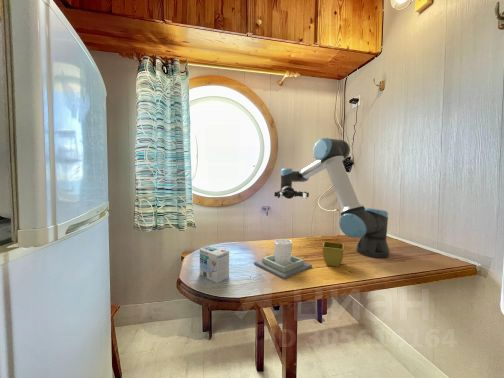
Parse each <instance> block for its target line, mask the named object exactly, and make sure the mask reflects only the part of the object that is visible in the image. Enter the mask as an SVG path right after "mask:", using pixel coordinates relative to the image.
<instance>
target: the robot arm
mask: <svg viewBox="0 0 504 378" xmlns="http://www.w3.org/2000/svg"><path fill="white" fill-rule="evenodd" d="M312 150H313V151H312V152H313V153H312V154H313V157H314V158H315V159H316V160H314V161H313V162H311V163H310V164H308V165H307V166H305V167H304V168H302V169H301V170H298V171H296V170H293V168H290V167H289V168H281V170H280V188H279V191H274V197H277V199H283V197H284V198H285V199H287V200H288V199H292V198H293V197H301V198H303V199H307V198H309V196H310V195H309V194H310V193H309V192H307V191H300V190H299V191H297V190H295V189H294V187H293V183H304V182H308V181H309V179H310V178H311V177H313V176H315V175H316V174H319V172H321V171H323V170H326V172H327V173H328V176H329V179H330V182H331V184H332V187H333V190H334V192H335V195H336V197H337V200H338V203H339V204H340V207H341V209H340V210H341V211H339V214H340V217H339V221H338V222H339V223H338V224H339V228H340V230H341V232H342V233H343V234H344V235H345V236H347V237H349V238H353V239H354V238H357V239H358V238H359V240H358V242H357V244H356V252H357V253H359V254H361V255H363V256H367V257H371V258H378V259H384V258H388V257H390V247H389V244H388V241H387V235H388V220H389V215H388V214H389V213H388V212H387V210H383V209H378V208H377V209H376V208H370V207H365V205H362V204H360V202H359V200H358V197H357V194H356V192H355V190H354V187H353V184H352V183H351V180H350V178H349V175H348V173H347V170H346V168H345V164H344V163H343V161H345V160H346V159H347V158H348V157H349V156H350V152H351V148H350V145H349V144H348V142H346V140H342V139H336V138H335V139H334V138H329V137H327V138H326V137H325V138H324V137H323V138H320V139H318V140H317V141H316V142H315V143H314V147H313V149H312Z"/></svg>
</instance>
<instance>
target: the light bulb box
mask: <svg viewBox="0 0 504 378" xmlns="http://www.w3.org/2000/svg"><path fill="white" fill-rule="evenodd" d="M199 275H200V276H202V277H204V278H205V279H207V280H210V281H211V282H213V283H215V284H218V283H221V282H222V281H224V280H227V279H228V278H230V250H227V249H224V248H221V247H218V246H215V245H208V246H205V247H202V248H200V249H199Z"/></svg>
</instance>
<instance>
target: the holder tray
mask: <svg viewBox="0 0 504 378" xmlns="http://www.w3.org/2000/svg"><path fill="white" fill-rule="evenodd" d="M253 264H254V265H256V266H257V267H259V268H261V269H263V270H265V271H267V272H269V273H271V274H272V275H275V276H277V277H279V278H281V279H283V280H286V279H287V278H290V277H292V276H295V275H297V274H299V273H302V272H304V271H306V270H309V269H311V268H312V267H313V265H312V264H311V263H309V262H306V261H305V260H304V259H302V258H300V257H298V256H295V255H292V254H291V260H290V264H288V265H286V266H282V265H280V264H277V263H275V253H274V254H271V255H267V256H264V257H262V258H261V259H260V260H259V259H258V260H256V261H254V263H253Z"/></svg>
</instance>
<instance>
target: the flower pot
mask: <svg viewBox="0 0 504 378" xmlns="http://www.w3.org/2000/svg"><path fill="white" fill-rule="evenodd" d="M344 246H345V245H344V242H342V243H341V242H333V241H327V240H326V241H323V244H322V258H323V261H324V263H325V264H326V266H331V267H337V268H338V267H340V266H341V264H342V262H343V259H344V258H343V256H344V250H345V248H344Z"/></svg>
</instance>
